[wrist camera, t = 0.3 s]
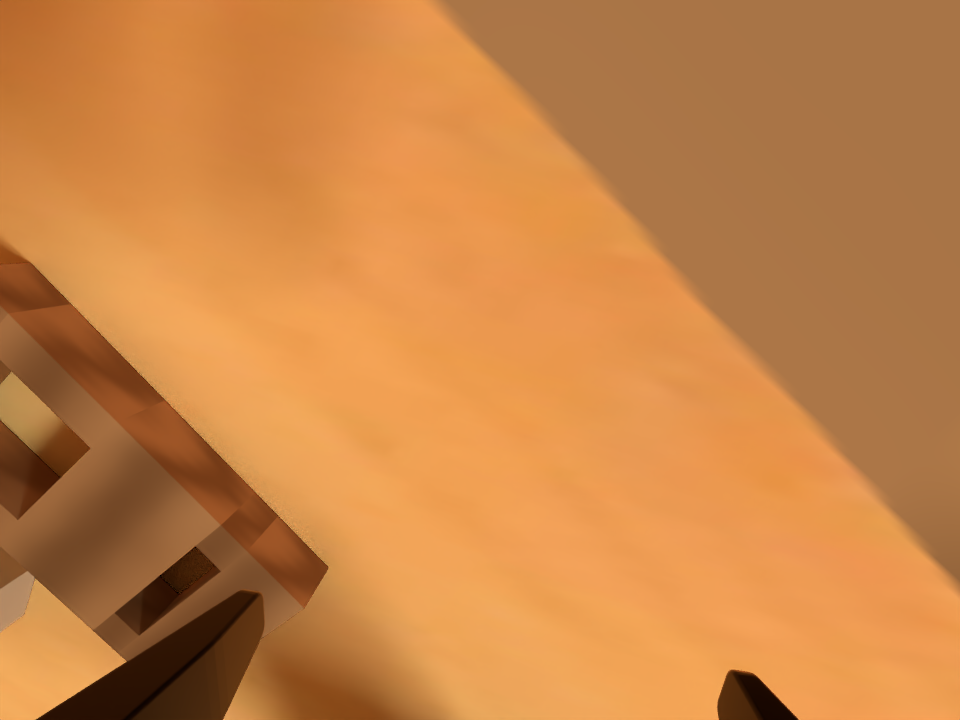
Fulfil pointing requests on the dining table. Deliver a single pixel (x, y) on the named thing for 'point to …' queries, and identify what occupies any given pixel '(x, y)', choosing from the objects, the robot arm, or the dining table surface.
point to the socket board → (127, 489)
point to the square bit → (13, 589)
